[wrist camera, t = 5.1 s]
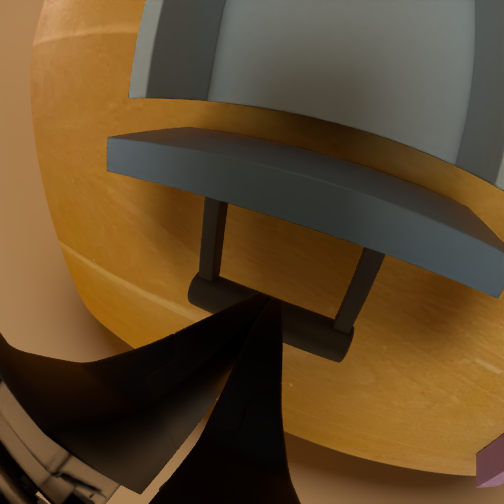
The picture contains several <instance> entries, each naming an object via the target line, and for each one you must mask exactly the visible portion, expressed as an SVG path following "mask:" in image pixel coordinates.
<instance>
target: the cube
mask: <svg viewBox="0 0 504 504" xmlns="http://www.w3.org/2000/svg"><path fill="white" fill-rule="evenodd" d="M503 483H504V434H503V435H501V436H500V437H499V438H497V439H496V440H495V441H494V442H492V443H491V444H490V445H488V446H487V447H486V448H484V449H483V450H481V451H480V452H479V453H477V454H476V488H480V487H491V486H499V485H501V484H503Z"/></svg>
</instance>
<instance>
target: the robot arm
mask: <svg viewBox="0 0 504 504" xmlns="http://www.w3.org/2000/svg"><path fill="white" fill-rule="evenodd" d="M282 351H283V301H282V300H280V299H277V298H274V297H271V298H270V296H269V295H266V294H264V293H261V292H258V293H255V294H254V295H252V296H250V297H248V298H246V299H244V300H242V301H240V302H238V303H236V304H234V305H232V306H230V307H228V308H226V309H224V310H222V311H219V312H217V313H215V314H213V315H211V316H209V317H207V318H205V319H203V320H201V321H199V322H197V323H195V324H193V325H190V326H188V327H186V328H184V329H182V330H180V331H178V332H176V333H175V335H174V334H171V335H169V336H167V337H165V338H162V339H160V340H158V341H155V342H153V343H151V344H148V345H145V346H142V347H140V348H137V349H134V350H131V351H128V352H125V353H122V354H118V355H115V356H112V357H108V358H105V359H101V360H98V361H93V362H85V363H79V362H71V361H65V360H60V359H54V358H50V357H45V356H41V355H36V354H32V353H27V352H24V351H21V350H18V349H16V348H14V347H12V346H11V345H9V344H8V343H7V341H6V340H5V338H4V337H3V336H2V334H1V333H0V504H47V503H46V502H45V501H44V500H43V499H41V498H40V497H39V496H37V495H36V493H37V492H38V491H39V492H40V493H41V494H42V495H43V496H44V497H45V498H46V499H47V500H48V501H49V502H50V503H51V504H106V503H107V502H108V500H109V499H110V498H111V497H112V495H113V494H114V493H115V492H116V490H117V489H118V488H119V487H120V485H122V486H124V487H126V488H128V489H130V490H132V491H134V492H136V493H138V494H142V493H143V491H144V490H145V489H146V488H147V487H148V486H149V484H150V483H151V482H152V481H153V480H154V478H155V477H156V476H157V475H158V474H159V472H160V471H161V470H162V469H163V468H164V466H165V465H166V464H167V463H168V461H169V460H170V459H171V458H172V457H173V455H174V454H175V453H176V451H177V450H178V449H179V448H180V446H181V445H182V444H183V443H184V441H185V440H186V439H187V438H188V436H189V435H190V434H191V432H192V431H193V430H194V428H195V427H196V426H197V424H198V423H199V422H200V421H201V419H202V418H203V417H204V415H205V414H206V412H207V411H208V410H209V408H210V407H211V406H212V404H213V403H214V402H215V400H216V399H217V398H218V396H219V395H220V397H219V399H218V401H217V403H216V405H215V407H214V409H213V411H212V413H211V416H210V418H209V420H208V422H207V424H206V426H205V428H204V430H203V432H202V434H201V436H200V438H199V440H198V441H197V443H196V445H195V446H194V447H193V449H192V450H191V451H190V453H189V454H188V455H187V457H186V458H185V459H184V460H183V462H182V463H181V464H180V466H179V467H178V468H177V469H176V471H175V472H174V473H173V474H172V476H171V477H170V478H169V479H168V480H167V481H166V482H165V483H164V484H163V485H162V486H161V487H160V488H159V492H158V493H157V494H156V495H155V496H154V498H153V499H152V500H151V501H150V503H149V504H301V503H300V501H299V499H298V496H297V494H296V492H295V489H294V487H293V484H292V481H291V477H290V473H289V468H288V462H287V455H286V446H285V438H284V429H283V419H282V383H281V382H282ZM220 393H221V394H220Z"/></svg>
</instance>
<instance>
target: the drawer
mask: <svg viewBox="0 0 504 504" xmlns="http://www.w3.org/2000/svg"><path fill="white" fill-rule="evenodd" d="M129 98H163V99H187V100H201V101H213V102H223V103H232V104H240V105H247V106H254V107H261V108H267V109H273V110H278V111H284V112H289V113H294V114H299V115H303V116H308V117H312V118H317V119H321V120H325V121H329V122H333V123H337V124H341V125H344V126H348V127H351V128H355V129H358V130H362V131H365V132H368V133H371V134H375V135H378V136H381V137H384V138H387V139H390V140H393V141H395V142H398V143H401V144H404V145H406V146H409V147H412V148H414V149H417V150H419V151H422V152H424V153H427V154H429V155H432V156H434V157H436V158H439V159H441V160H443V161H446V162H448V163H450V164H452V165H454V166H457V167H459V168H461V169H463V170H465V171H467V172H469V173H471V174H473V175H475V176H477V177H479V178H481V179H483V180H484V181H486V182H488V183H490V184H492V185H494V186H495V187H497V188H499V189H501V190H502V191H504V0H146V2H145V6H144V10H143V15H142V19H141V23H140V28H139V33H138V38H137V43H136V49H135V54H134V60H133V67H132V74H131V81H130V90H129ZM107 171H109V172H113V173H117V174H122V175H126V176H130V177H134V178H138V179H142V180H146V181H150V182H153V183H157V184H161V185H165V186H169V187H172V188H176V189H180V190H184V191H187V192H191V193H194V194H198V195H202V196H205V202H204V213H203V224H202V236H201V249H200V264H199V272H198V273H197V274H196V275H195V277H194V278H193V280H192V282H191V284H190V287H189V290H188V301H189V302H190V303H191V304H193V305H195V306H197V307H199V308H202V309H204V310H206V311H208V312H210V313H213V314H215V313H217V312H219V311H222V310H224V309H226V308H228V307H230V306H232V305H234V304H236V303H238V302H240V301H242V300H244V299H246V298H248V297H250V296H252V295H254V294H255V293H258V292H259V291H257V290H254V289H251V288H249V287H246V286H244V285H241V284H238V283H236V282H233V281H231V280H228V279H226V278H223V277H221V276H219V274H220V265H221V257H222V248H223V240H224V232H225V224H226V216H227V208H228V203H230V204H233V205H236V206H240V207H243V208H246V209H250V210H253V211H256V212H260V213H263V214H266V215H269V216H273V217H276V218H279V219H282V220H285V221H289V222H292V223H295V224H298V225H301V226H304V227H307V228H310V229H313V230H316V231H319V232H322V233H326V234H328V235H331V236H334V237H337V238H340V239H343V240H346V241H349V242H352V243H355V244H358V245H361V246H363V247H364V248H363V251H362V253H361V256H360V259H359V261H358V264H357V266H356V269H355V272H354V274H353V277H352V279H351V282H350V284H349V286H348V289H347V291H346V294H345V296H344V298H343V301H342V303H341V305H340V308H339V310H338V312H337V315H336V317H335V319H333V318H330V317H327V316H324V315H321V314H319V313H316V312H313V311H310V310H307V309H305V308H302V307H299V306H297V305H294V304H291V303H288V302H286V301H283V300H282V301H283V343H285V344H288V345H291V346H293V347H296V348H299V349H301V350H304V351H307V352H309V353H312V354H315V355H318V356H321V357H323V358H326V359H329V360H332V361H335V362H341V361H342V360H343V359H344V357H345V356H346V354H347V352H348V349H349V347H350V345H351V342H352V339H353V335H354V327H353V324H354V322H355V320H356V318H357V316H358V314H359V312H360V310H361V308H362V306H363V304H364V302H365V300H366V298H367V296H368V293H369V291H370V289H371V287H372V285H373V282H374V280H375V278H376V276H377V273H378V271H379V269H380V266H381V264H382V261H383V259H384V257H385V254H386V255H389V256H391V257H394V258H397V259H400V260H402V261H405V262H408V263H410V264H413V265H416V266H418V267H421V268H423V269H426V270H429V271H431V272H434V273H436V274H439V275H442V276H444V277H447V278H449V279H452V280H454V281H457V282H459V283H462V284H464V285H466V286H469V287H471V288H474V289H476V290H479V291H481V292H483V293H486V294H488V295H490V296H493V297H495V298H499V296H500V294H501V293H502V291H503V289H504V243H503V242H502V241H501V240H500V239H499V238H498V237H497V236H496V235H495V234H494V233H493V231H492V230H491V229H490V228H489V227H488V226H487V225H486V224H485V223H484V222H483V221H482V220H481V219H479V218H478V217H477V216H476V215H475V214H474V213H473V212H472V211H471V210H470V209H469V208H468V207H466V206H464V205H462V204H460V203H458V202H456V201H453V200H451V199H449V198H447V197H444V196H442V195H440V194H437V193H435V192H433V191H430V190H428V189H425V188H423V187H420V186H418V185H415V184H413V183H410V182H408V181H405V180H402V179H400V178H397V177H394V176H392V175H389V174H386V173H383V172H380V171H377V170H374V169H371V168H368V167H365V166H362V165H359V164H356V163H353V162H349V161H346V160H343V159H339V158H336V157H333V156H329V155H325V154H322V153H318V152H314V151H311V150H307V149H303V148H299V147H295V146H291V145H286V144H282V143H278V142H273V141H268V140H264V139H259V138H254V137H249V136H243V135H238V134H232V133H226V132H220V131H214V130H207V129H200V128H193V127H182V128H171V129H162V130H153V131H145V132H137V133H131V134H124V135H118V136H112V137H108V138H107ZM261 293H262V292H261ZM266 295H267V294H266ZM269 296H270V295H269ZM271 297H272V296H270V298H271ZM274 298H275V297H274ZM277 299H278V298H277Z"/></svg>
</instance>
